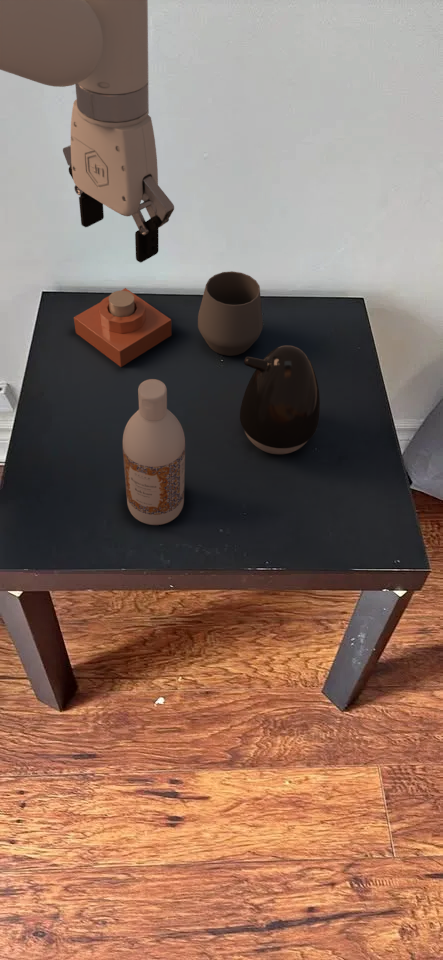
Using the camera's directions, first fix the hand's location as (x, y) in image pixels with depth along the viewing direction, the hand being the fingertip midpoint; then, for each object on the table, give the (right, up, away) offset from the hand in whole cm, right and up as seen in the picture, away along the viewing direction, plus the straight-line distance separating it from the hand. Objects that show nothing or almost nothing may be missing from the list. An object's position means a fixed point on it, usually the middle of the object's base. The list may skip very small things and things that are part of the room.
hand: (119, 239), depth 92 cm
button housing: (-2, -8, +19) cm, 21 cm away
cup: (+14, -9, +20) cm, 26 cm away
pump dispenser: (+20, -24, +9) cm, 32 cm away
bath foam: (+4, -33, +1) cm, 33 cm away
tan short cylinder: (-2, -5, +16) cm, 17 cm away
